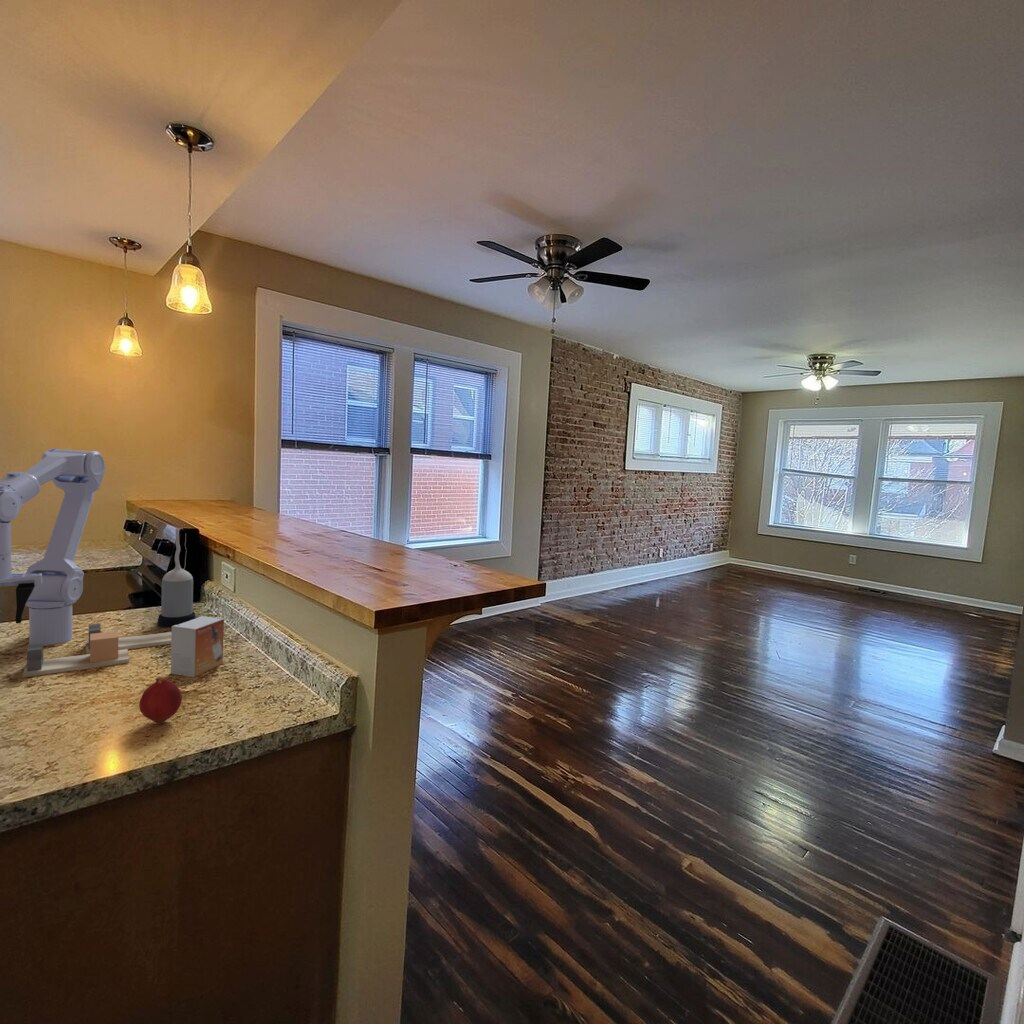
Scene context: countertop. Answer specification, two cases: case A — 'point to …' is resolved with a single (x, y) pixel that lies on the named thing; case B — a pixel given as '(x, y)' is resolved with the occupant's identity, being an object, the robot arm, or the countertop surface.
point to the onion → (160, 700)
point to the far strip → (133, 639)
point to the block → (103, 646)
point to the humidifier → (176, 594)
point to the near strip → (63, 661)
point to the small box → (197, 646)
